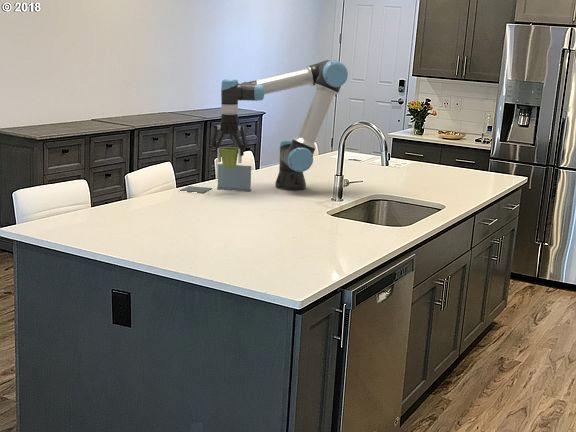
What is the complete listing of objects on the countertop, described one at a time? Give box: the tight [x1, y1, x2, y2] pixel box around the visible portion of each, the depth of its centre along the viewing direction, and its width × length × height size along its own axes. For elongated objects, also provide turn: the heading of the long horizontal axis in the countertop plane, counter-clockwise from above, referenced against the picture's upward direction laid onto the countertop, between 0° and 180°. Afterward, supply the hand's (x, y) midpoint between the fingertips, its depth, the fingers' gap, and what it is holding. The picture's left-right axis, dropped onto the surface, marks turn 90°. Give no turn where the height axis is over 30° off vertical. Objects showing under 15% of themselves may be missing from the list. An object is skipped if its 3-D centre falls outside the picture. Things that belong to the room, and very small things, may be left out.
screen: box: [216, 163, 252, 193], centre depth 366 cm, size 16×3×12 cm, turn 75°
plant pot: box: [219, 146, 240, 168], centre depth 355 cm, size 9×9×9 cm
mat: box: [179, 185, 213, 194], centre depth 363 cm, size 12×12×1 cm
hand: (229, 162), depth 356 cm, fingers closed on plant pot, 9 cm apart
